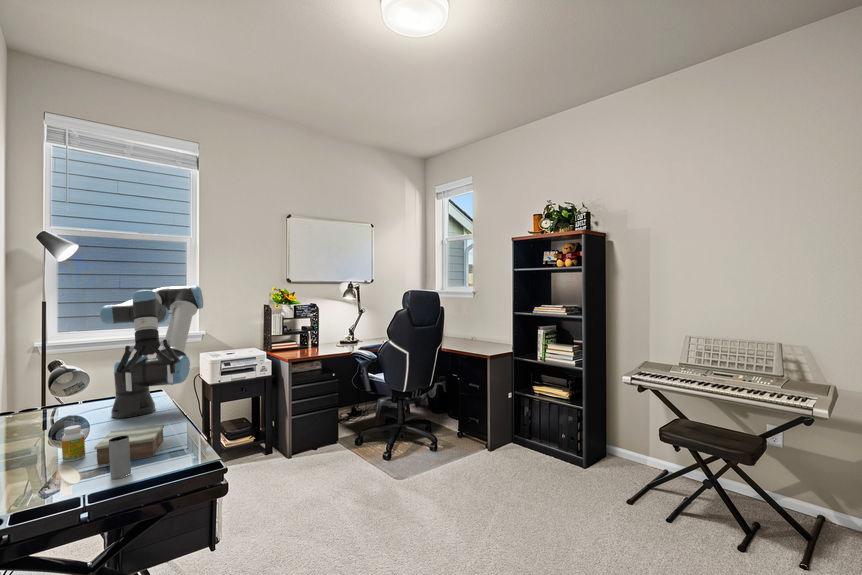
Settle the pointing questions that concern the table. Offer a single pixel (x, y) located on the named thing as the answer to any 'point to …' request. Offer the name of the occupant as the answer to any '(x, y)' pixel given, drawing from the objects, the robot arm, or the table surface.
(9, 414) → the table surface
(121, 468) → the grey hollow cylinder
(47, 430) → the table surface
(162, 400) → the table surface
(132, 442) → the podium
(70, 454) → the supplement bottle
